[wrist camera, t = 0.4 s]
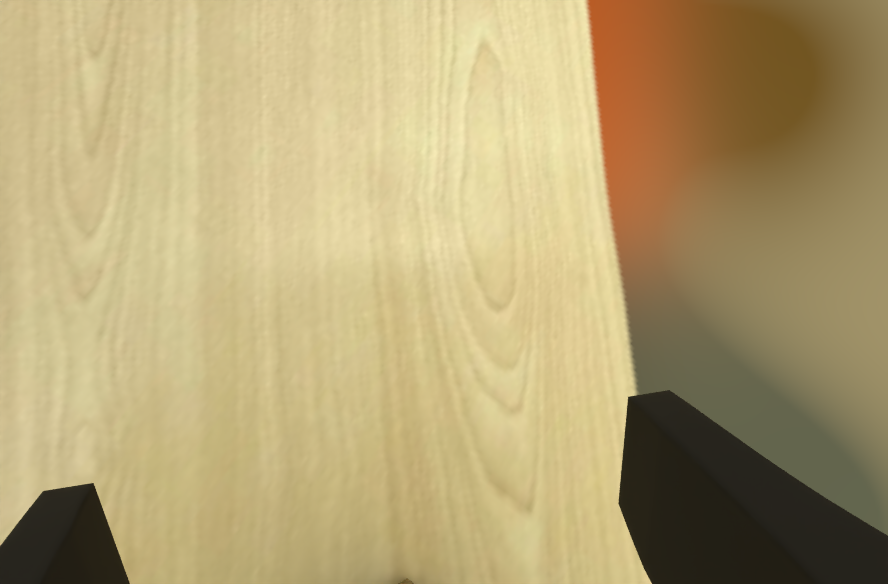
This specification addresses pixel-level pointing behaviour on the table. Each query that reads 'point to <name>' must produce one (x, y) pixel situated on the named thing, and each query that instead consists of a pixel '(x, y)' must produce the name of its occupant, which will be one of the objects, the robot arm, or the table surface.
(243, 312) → the table surface
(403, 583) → the frame
